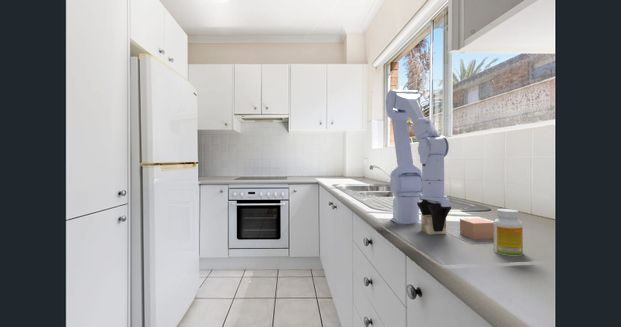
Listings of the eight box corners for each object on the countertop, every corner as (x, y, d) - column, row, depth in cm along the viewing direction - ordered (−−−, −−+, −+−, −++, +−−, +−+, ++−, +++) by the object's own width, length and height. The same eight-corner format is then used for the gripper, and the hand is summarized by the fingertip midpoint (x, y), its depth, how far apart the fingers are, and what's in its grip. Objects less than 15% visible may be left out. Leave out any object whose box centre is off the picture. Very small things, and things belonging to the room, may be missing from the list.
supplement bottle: (528, 258, 66) (528, 212, 66) (502, 258, 66) (502, 212, 66) (512, 251, 72) (512, 208, 71) (488, 251, 72) (488, 208, 72)
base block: (460, 233, 86) (459, 218, 86) (481, 233, 86) (481, 218, 86) (473, 239, 80) (473, 223, 80) (495, 238, 80) (495, 222, 80)
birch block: (421, 232, 90) (421, 215, 90) (437, 232, 91) (437, 214, 91) (429, 236, 86) (429, 218, 86) (446, 236, 86) (446, 217, 86)
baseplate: (442, 232, 90) (441, 230, 90) (482, 231, 91) (482, 229, 91) (471, 246, 76) (471, 243, 76) (518, 244, 77) (518, 242, 77)
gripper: (461, 181, 81) (461, 234, 81) (434, 178, 96) (434, 223, 96) (434, 182, 81) (435, 235, 81) (411, 178, 95) (412, 223, 95)
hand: (433, 229), depth 88 cm, fingers open, 5 cm apart
